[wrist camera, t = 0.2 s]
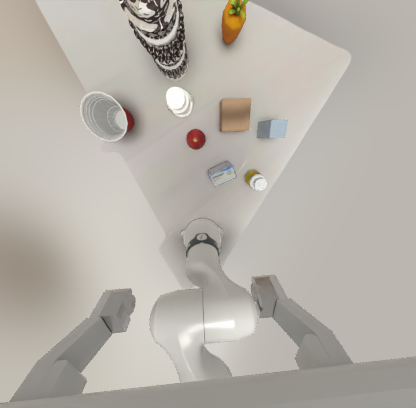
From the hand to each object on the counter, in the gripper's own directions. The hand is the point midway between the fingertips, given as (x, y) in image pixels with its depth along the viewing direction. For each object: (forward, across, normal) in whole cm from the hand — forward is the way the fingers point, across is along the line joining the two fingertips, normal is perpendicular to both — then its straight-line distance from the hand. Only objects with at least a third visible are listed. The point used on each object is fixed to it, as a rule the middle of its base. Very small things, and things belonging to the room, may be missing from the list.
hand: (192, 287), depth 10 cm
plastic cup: (+50, -21, +13) cm, 55 cm away
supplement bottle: (+49, +20, -8) cm, 53 cm away
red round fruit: (+49, 0, +7) cm, 50 cm away
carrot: (+49, +11, +30) cm, 59 cm away
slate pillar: (+49, +23, +8) cm, 55 cm away
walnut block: (+49, +12, +12) cm, 52 cm away
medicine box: (+49, +8, -4) cm, 50 cm away
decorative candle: (+50, -4, +27) cm, 56 cm away
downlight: (+49, -3, +17) cm, 52 cm away
